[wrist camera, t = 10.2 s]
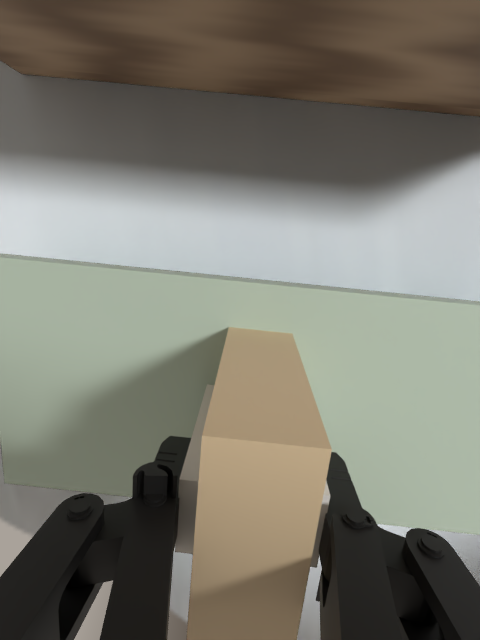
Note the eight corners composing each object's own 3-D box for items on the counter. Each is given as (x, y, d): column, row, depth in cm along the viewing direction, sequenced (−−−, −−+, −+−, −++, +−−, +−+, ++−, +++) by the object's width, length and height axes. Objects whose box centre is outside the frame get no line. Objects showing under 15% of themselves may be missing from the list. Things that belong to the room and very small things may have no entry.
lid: (534, 307, 17) (897, 416, 8) (467, 517, 21) (660, 785, 11) (1, 253, 18) (-314, 292, 8) (18, 468, 21) (-191, 686, 11)
